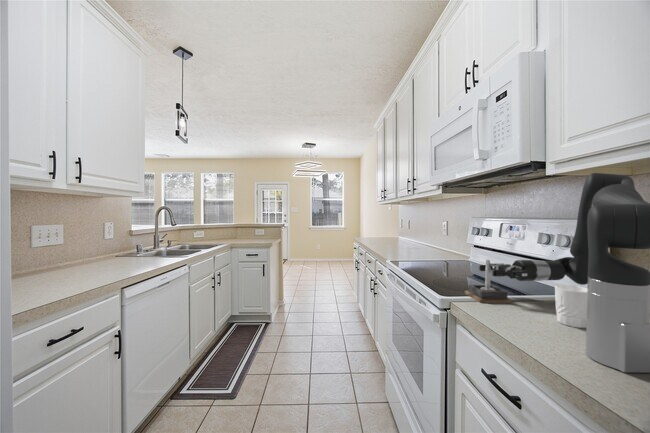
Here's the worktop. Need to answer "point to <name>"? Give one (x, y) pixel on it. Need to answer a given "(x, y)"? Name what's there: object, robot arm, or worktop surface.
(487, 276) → the screw
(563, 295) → the white cup
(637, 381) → the worktop surface
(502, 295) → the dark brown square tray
